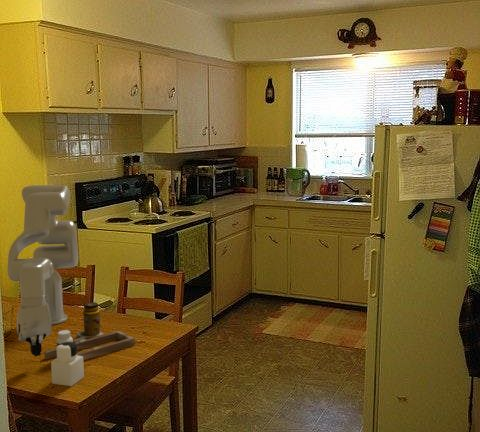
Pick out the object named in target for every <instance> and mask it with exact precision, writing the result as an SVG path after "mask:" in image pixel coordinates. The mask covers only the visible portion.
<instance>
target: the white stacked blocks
mask: <svg viewBox="0 0 480 432" xmlns="http://www.w3.org/2000/svg"><path fill="white" fill-rule="evenodd" d="M56 349H57V357H56V358H55V359H54V360H52V361H51V363H50V369H51V383H52V384H54V385H60V386H66V387H73V386H74V385H75V384H77V383H78V382H80V380H82V379H84V377H85V369H84V366H85V365H84V361H83V356H77V354H78V351H77V345H76V344H75V343H73V342H64V343H61V344H59V345H58V346H57V345H56Z"/></svg>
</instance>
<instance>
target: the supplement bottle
mask: <svg viewBox="0 0 480 432" xmlns="http://www.w3.org/2000/svg"><path fill="white" fill-rule="evenodd" d="M57 335H58V337H57V338H56V342H55V343H56V347H57V346H58V345H59V344H61V343H64V342H73V340H74V339H73V337H72V336H71V331H70V330H68V329H64V330H59V331H58V332H57Z"/></svg>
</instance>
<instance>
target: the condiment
mask: <svg viewBox="0 0 480 432" xmlns="http://www.w3.org/2000/svg"><path fill="white" fill-rule="evenodd" d="M83 307H84V308H83V329H84V330H83V331H82V330H81V331H78V332H77V331H76V334H77V336H79V338H82V337H83V338H85V339H87V338H94V337H98V336H101V335H104V333H103V332H102V331H101V318H100V317H101V316H100V315H101V314H100V309H99V304H98V302H95V301H94V302H93V301H92V302H85V304H84V305H83Z"/></svg>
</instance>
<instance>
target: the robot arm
mask: <svg viewBox="0 0 480 432" xmlns="http://www.w3.org/2000/svg"><path fill="white" fill-rule="evenodd" d="M71 195H72V194H71V191H70V188H69V187H68V186H67V185H63V184H42V185H41V184H38V185H37V184H36V185H35V184H34V185H33V184H32V185H27V186H24V187H23V188H22V190H21V197H22V201H23V202H24V218H23V231H22V233H20V234H19V235H18V236H17V237H16V238H15V240H14V241H13V242H12V244H11V245H10V247H9V250H8V253H7V254H8V255H7V271H6V272H7V277H8V278H9V280H11V281H13V282H19V288H20V289H19V290H20V305H19V306H18V309H17V315H16V334H17V335H18V341H19V342H22V343H23V342H25V343H26V342H27V343H29V344H30V345H29V346H30V354H32V355H33V356H34V357H39V356H41V355H42V354H41V353H42V343H43V342H44V340H45V338H46V337H48V336H50V335H52V325H58V324H61V323H64V322H65V321H67V320H68V315H67V314H66V313H64V306H63V304H64V303H63V302H64V301H63V285H62V284H63V283H62V282H63V281H62V280H63V279H62V277H61V275H60V273H59V272H58V271H57V269H69V268H75V267H76V266H77V265H78V264H79V246H78V245H79V244H78V231H77V227H76V224H75V223H74V221H73V220H69V219H66V220H63V219H62V220H59V219H57V216H64V215H66V214H67V213H68V210H69V207H70V203H71ZM35 243H38V244H40V246H38V247H36V248H35V249H34V251H33V253H32V254H33V255H32V258H19V255H20V253H21V252H22V251H23V250H24V249H25V248H27V247H29V246H31V245H33V244H35Z"/></svg>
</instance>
